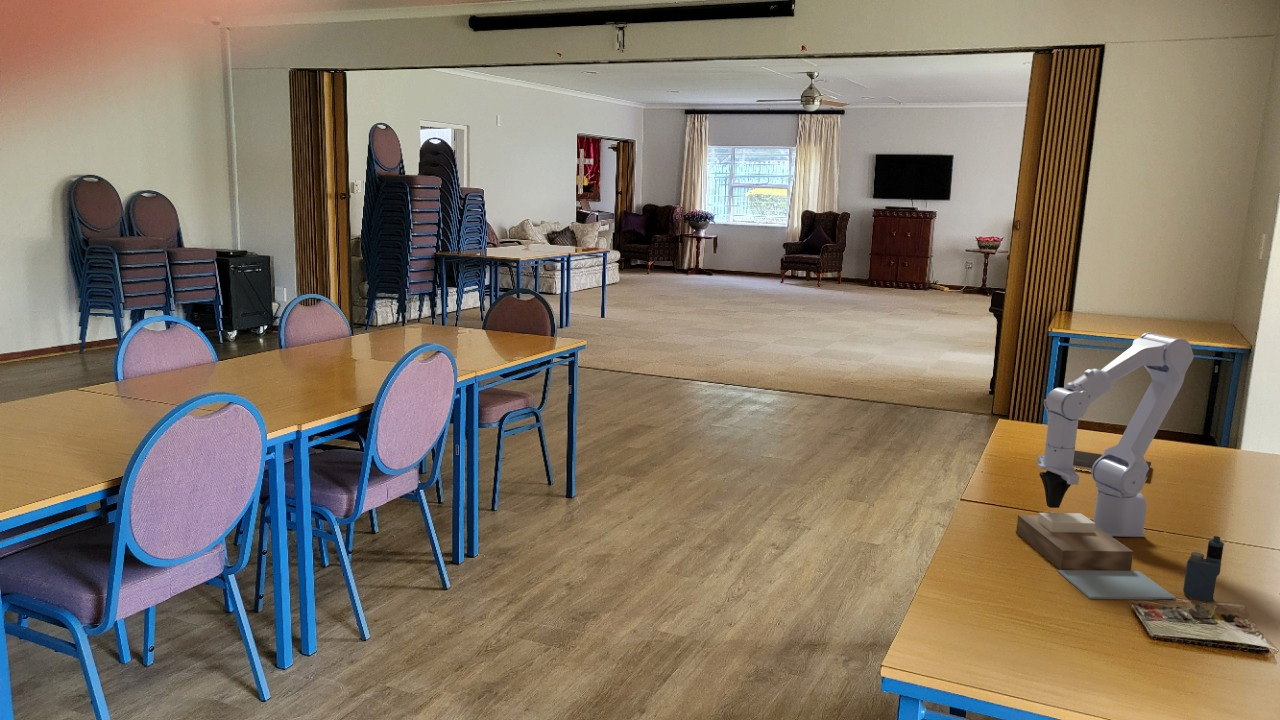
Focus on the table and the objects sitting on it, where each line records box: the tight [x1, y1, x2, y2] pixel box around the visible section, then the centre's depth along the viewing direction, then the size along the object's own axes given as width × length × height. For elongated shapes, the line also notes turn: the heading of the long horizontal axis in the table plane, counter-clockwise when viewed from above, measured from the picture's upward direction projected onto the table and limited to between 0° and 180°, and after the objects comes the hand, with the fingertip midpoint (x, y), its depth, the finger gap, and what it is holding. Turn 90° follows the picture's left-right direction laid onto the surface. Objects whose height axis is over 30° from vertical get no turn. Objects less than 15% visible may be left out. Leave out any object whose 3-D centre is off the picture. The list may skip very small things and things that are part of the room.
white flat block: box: [1038, 512, 1095, 533], centre depth 195 cm, size 9×6×2 cm, turn 92°
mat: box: [1057, 569, 1177, 601], centre depth 176 cm, size 16×12×1 cm
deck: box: [1015, 514, 1134, 571], centre depth 193 cm, size 14×20×4 cm
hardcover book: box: [1073, 449, 1152, 481], centre depth 255 cm, size 16×23×2 cm
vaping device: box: [1182, 535, 1225, 603], centre depth 171 cm, size 3×5×12 cm, turn 58°
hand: (1052, 506), depth 201 cm, fingers closed
